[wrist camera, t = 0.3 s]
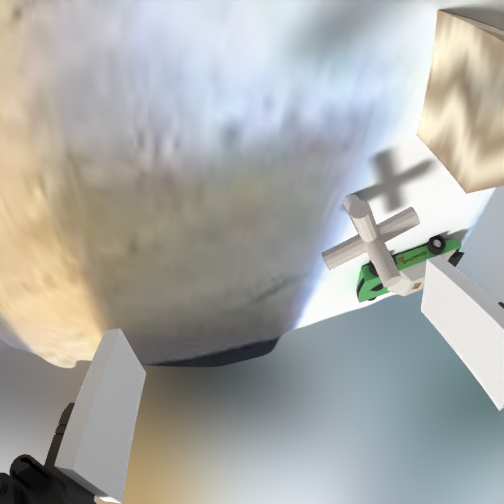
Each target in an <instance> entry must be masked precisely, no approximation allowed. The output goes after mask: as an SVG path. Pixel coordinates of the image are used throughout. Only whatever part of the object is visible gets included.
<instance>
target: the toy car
mask: <svg viewBox="0 0 504 504" xmlns="http://www.w3.org/2000/svg"><path fill="white" fill-rule="evenodd" d="M460 248H461V243H460V242H459V241H457V240H444V239H443V238H442V237H441V236H439V235H437V236H434V237H431V238H430V239H429V242H428V244H427V245H425V246H422V247H419V248H416V249H414V250H411V251H408V252H405V253H402V254H399V255H396V256H393V257H392V259H393V261H394V263H395V265H396V267H397V269H398V271H399V273H400V275H401V277H402V278H401V280H400V281H399V282H398V283H396V284H395V285H393V286H390V287H384V286H383V284H382V281H381V279H380V277H379V275H378V273H377V271H376V268H375V266H374V264H373V263H372V262H371V260H370V262H369V265H367V266H364V267H362V268H361V272H360V276H359V280H358V285H357V289H356V290H357V297H358V300H359V302H363V301H365V300H368V301H371V300H374V299H375V298H376V297H377V296H380V295H382V294H385V293H388V292H393V293H396V294H399V295H402V296H406V295H408V294H410V293H414V292H416V291H418V290H420V289H422V288H423V287H424V282H425V272H426V261H427V259H429V258H432V257H436V256H439V255H440V256H441V257H443V258H444V259H445V260H446V261H448V262H449V263H450V264H452V265H453V266H454V267H456V265H457V264H458V262H459V261H460V259H461V258H462V256H463V254H464V253H462V252H458V251H459V249H460Z"/></svg>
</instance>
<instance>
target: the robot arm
mask: <svg viewBox="0 0 504 504" xmlns="http://www.w3.org/2000/svg"><path fill="white" fill-rule="evenodd" d="M421 311H422V312H423V313H424V315H425V316H426V317H427V318H428V319H429V320H430V322H431V323H432V324H433V325H434V326H435V327H436V329H437V330H438V331H439V332H440V333H441V335H442V336H443V337H444V338H445V339H446V341H447V342H448V343H449V344H450V346H451V347H452V348H453V349H454V351H455V352H456V353H457V354H458V355H459V357H460V358H461V359H462V361H463V362H464V363H465V364H466V366H467V367H468V368H469V370H470V371H471V372H472V374H473V375H474V376H475V377H476V379H477V380H478V382H479V383H480V384H481V386H482V387H483V388H484V390H485V391H486V392H487V394H488V395H489V397H490V398H491V399H492V401H493V402H494V404H495V405H496V407H497V408H498V409H499V411H500V410H501V409H503V408H504V304H503V303H502V302H499V303H496V301H494V300H493V299H492V298H491V297H490V296H489V295H488V294H486V293H485V292H484V291H483V290H482V289H481V288H480V287H478V286H477V285H476V284H475V283H474V282H472V281H471V280H470V279H469V278H467V277H466V276H465V275H464V274H463V273H461V272H460V271H459V270H458V269H457V268H455V267H454V266H453V265H452V264H450V263H449V262H448V261H446V260H445V259H444V258H443V257H441V256H440V255H439V256H436V257H432V258H429V259H427V261H426V272H425V282H424V291H423V298H422V305H421ZM145 376H146V372H145V371H144V369H143V368H142V366H141V364H140V362H139V361H138V359H137V357H136V356H135V354H134V352H133V350H132V349H131V347H130V345H129V343H128V341H127V340H126V338H125V336H124V334H123V332H122V330H121V328H119V329H113V330H106V331H105V333H104V335H103V337H102V339H101V342H100V344H99V346H98V348H97V351H96V353H95V355H94V358H93V360H92V362H91V365H90V367H89V370H88V372H87V374H86V377H85V379H84V382H83V384H82V387H81V390H80V392H79V394H78V397H77V400H76V402H75V403H70V404H69V405H68V406H67V408H66V409H65V410H64V412H63V413H62V415H61V418H60V421H59V426H57V429H56V432H55V433H56V435H54V437H53V440H52V443H51V446H50V449H49V452H48V455H47V458H46V461H45V465H44V466H43V465H41V464H40V463H39V462H38V461H36V460H35V459H34V458H33V457H31V456H30V455H26V454H24V455H21V456H18V457H17V458H16V459H15V460H14V461H13V463H12V464H11V467H10V476H9V475H8V474H6V473H0V504H96V503H95V502H94V496H97V497H99V498H100V499H102V500H103V501H107V502H114V503H121V504H122V502H123V494H124V487H125V481H126V474H127V468H128V461H129V455H130V450H131V444H132V439H133V433H134V428H135V423H136V418H137V413H138V408H139V403H140V398H141V394H142V389H143V385H144V380H145Z"/></svg>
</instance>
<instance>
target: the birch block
mask: <svg viewBox="0 0 504 504" xmlns="http://www.w3.org/2000/svg"><path fill="white" fill-rule="evenodd" d="M417 136H418V137H419V138H420V139H421V140H422V141H423V143H424V144H425V145H426V146H427V147H428V148H429V149H430V150H431V151H432V152H433V154H434V155H435V156H436V157H437V158H438V159H439V160H440V162H441V163H442V164H443V165H444V166H445V167H446V169H447V170H448V171H449V172H450V173H451V175H452V176H453V177H454V178H455V180H456V181H457V182H458V183H459V185H460V186H461V187H462V189H463V190H464V191H465V192H466V194H467V193H471V192H476V191H480V190H485V189H489V188H494V187H498V186H503V185H504V31H502V30H500V29H497V28H495V27H492V26H489V25H486V24H484V23H481V22H478V21H475V20H472V19H469V18H466V17H462V16H459V15H456V14H452V13H448V12H444V11H441V10H438V15H437V25H436V35H435V43H434V50H433V57H432V64H431V70H430V76H429V81H428V87H427V92H426V97H425V102H424V107H423V111H422V116H421V120H420V124H419V128H418V133H417Z"/></svg>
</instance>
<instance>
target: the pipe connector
mask: <svg viewBox="0 0 504 504" xmlns="http://www.w3.org/2000/svg"><path fill="white" fill-rule="evenodd" d="M343 205H344V207H345V209H346V210H347V212H348V214H349V216H350V218H351V220H352V222H353V224H354V226H355V228H356V230H357V232H358V235H356V236H354V237H352V238H350V239H348V240H347V241H345V242H343V243H341V244H339V245H337V246H335V247H333V248H331V249H329V250H327V251H325V252H323V253H322V257H323V259H324V262H325V264H326V265H327V267H328V269H329V270H331V269H333V268H335V267H337V266H339V265H341V264H343V263H345V262H347V261H349V260H351V259H353V258H355V257H357V256H359V255H361V254H363V253H365V252H367V253H368V255H369V257H370V260H371V262H372V263H373V264H374V266H375V268H376V271H377V273H378V275H379V277H380V279H381V281H382V284H383V286H384V287H390V286H393V285H395V284H396V283H398V282H399V281H400V280H401V278H402V277H401V275H400V273H399V271H398V269H397V267H396V265H395V263H394V261H393V259H392V257H391V255H390V253H389V251H388V249H387V247H386V245H385V243H384V242H386V241H388V240H390V239H392V238H394V237H396V236H398V235H399V234H401V233H403V232H405V231H407V230H409V229H411V228H413V227H414V226H416V225H418V224H419V223H420V222H419V218H418V216H417V214H416V212H415V210H414V209H413V208H412V207H409V208H408V209H406V210H404V211H402V212H400V213H398V214H396V215H394V216H393V217H391V218H389V219H387V220H385V221H383V222H381V223H379V224H377V225H376V223H375V220H374V217H373V214H372V211H371V208H370V206H369V204H368V203H367V202H366V201H363V200H360V199H359V197H358V195H356V194H351V195H348V196H347V197H346V198H345V199H344V200H343Z"/></svg>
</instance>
